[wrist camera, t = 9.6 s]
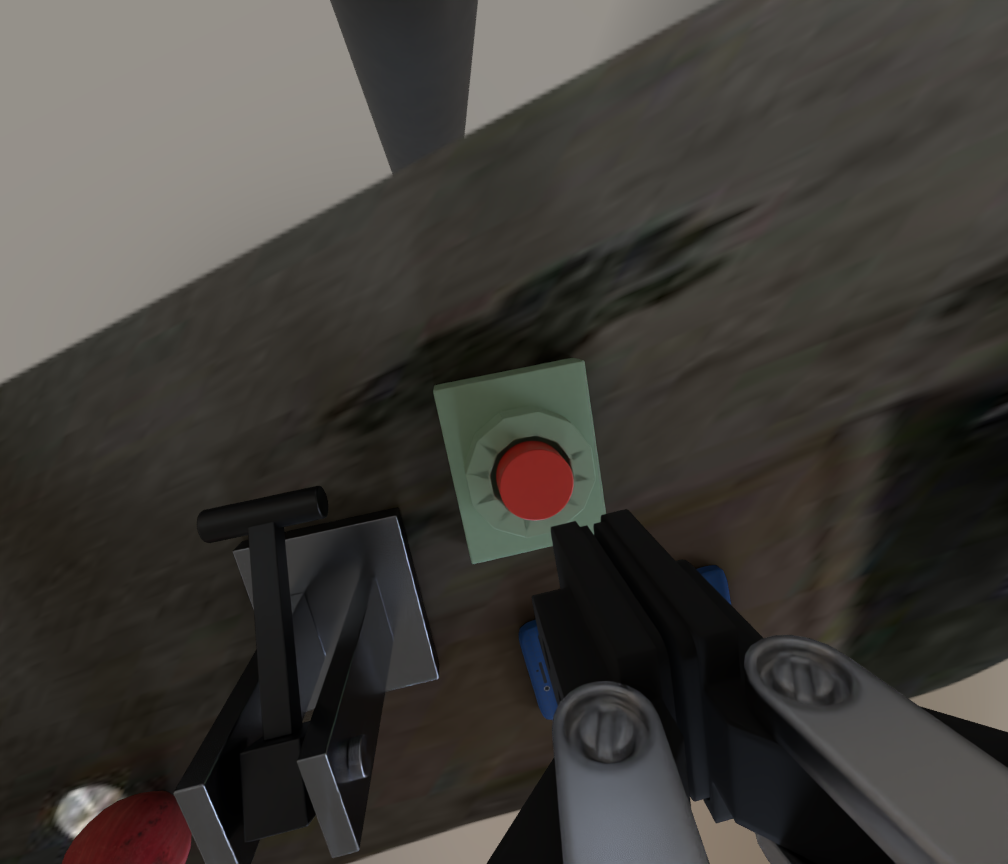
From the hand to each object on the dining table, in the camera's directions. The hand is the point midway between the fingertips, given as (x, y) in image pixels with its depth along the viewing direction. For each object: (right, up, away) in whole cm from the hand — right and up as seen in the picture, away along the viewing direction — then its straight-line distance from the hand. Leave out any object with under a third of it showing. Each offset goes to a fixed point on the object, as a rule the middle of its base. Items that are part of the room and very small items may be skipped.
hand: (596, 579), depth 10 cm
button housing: (-1, +2, +18) cm, 18 cm away
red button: (-1, +1, +14) cm, 14 cm away
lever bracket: (-11, -7, +18) cm, 23 cm away
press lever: (-11, -6, +10) cm, 16 cm away
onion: (-23, -20, +20) cm, 37 cm away
